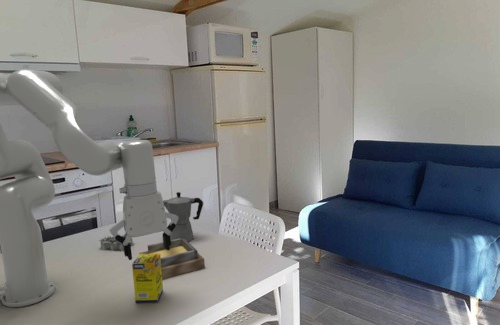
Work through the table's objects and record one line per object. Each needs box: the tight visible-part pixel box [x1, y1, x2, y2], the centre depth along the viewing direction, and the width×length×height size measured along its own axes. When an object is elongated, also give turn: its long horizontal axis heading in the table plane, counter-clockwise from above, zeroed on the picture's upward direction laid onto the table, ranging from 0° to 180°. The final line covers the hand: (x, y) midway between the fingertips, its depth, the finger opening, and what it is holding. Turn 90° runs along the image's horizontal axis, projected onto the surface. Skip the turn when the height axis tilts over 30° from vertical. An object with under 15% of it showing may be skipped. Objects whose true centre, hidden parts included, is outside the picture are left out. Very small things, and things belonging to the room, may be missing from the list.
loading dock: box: [138, 238, 206, 280], centre depth 118 cm, size 16×16×6 cm
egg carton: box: [98, 234, 134, 252], centre depth 134 cm, size 11×8×4 cm
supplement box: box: [131, 254, 164, 304], centre depth 98 cm, size 6×6×11 cm
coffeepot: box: [163, 191, 204, 243], centre depth 138 cm, size 15×9×18 cm, turn 92°
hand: (148, 253), depth 97 cm, fingers open, 9 cm apart
